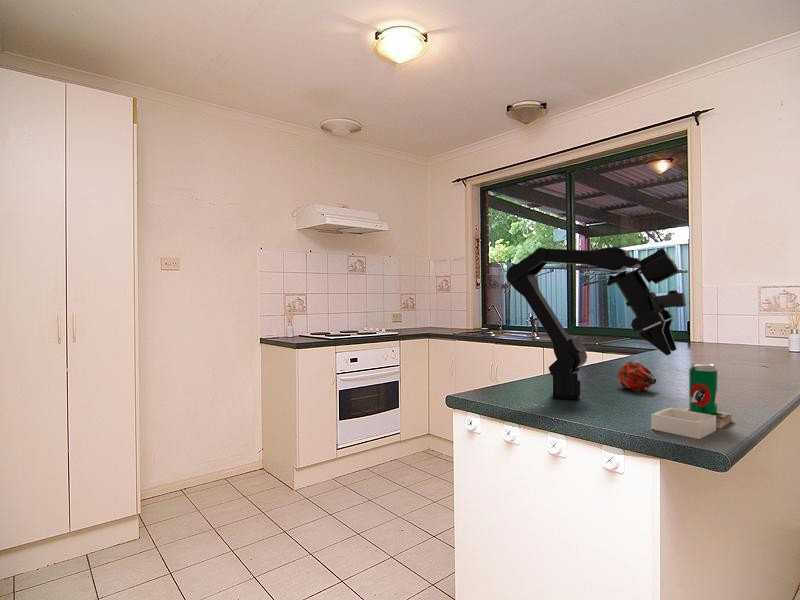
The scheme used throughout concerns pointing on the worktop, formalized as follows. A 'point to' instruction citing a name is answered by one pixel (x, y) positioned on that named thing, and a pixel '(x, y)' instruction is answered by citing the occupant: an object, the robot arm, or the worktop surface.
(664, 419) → the bin
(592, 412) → the worktop surface
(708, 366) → the soda can
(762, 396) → the worktop surface
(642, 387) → the dragon fruit
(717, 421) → the checker cradle
